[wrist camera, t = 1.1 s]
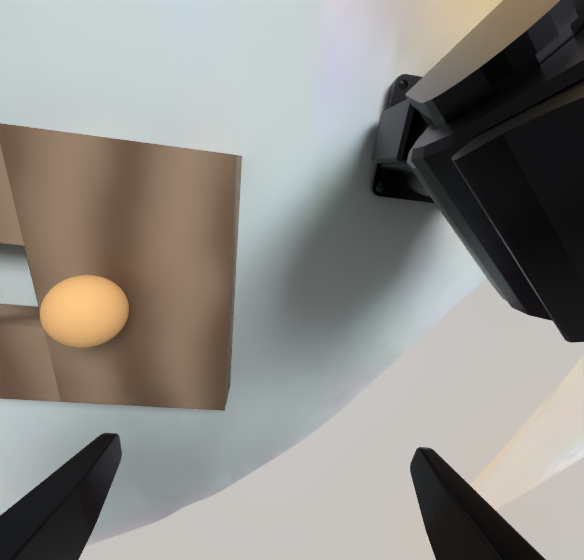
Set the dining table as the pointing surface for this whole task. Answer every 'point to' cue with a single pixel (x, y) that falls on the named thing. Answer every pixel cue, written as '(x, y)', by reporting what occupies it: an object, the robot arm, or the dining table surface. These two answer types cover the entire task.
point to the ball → (84, 311)
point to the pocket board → (122, 266)
